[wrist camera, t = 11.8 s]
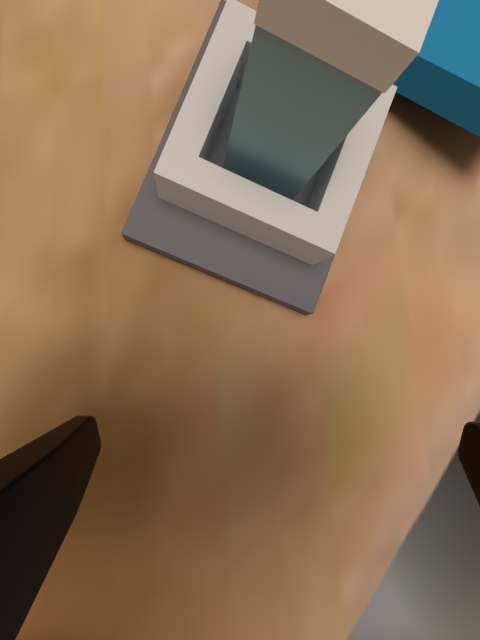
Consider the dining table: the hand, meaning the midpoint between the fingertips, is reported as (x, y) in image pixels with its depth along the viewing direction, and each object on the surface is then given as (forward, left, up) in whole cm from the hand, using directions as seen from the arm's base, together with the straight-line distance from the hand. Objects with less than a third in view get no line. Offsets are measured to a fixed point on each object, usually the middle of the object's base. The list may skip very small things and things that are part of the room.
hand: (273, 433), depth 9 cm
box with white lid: (+8, +9, -10) cm, 16 cm away
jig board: (+8, +9, -11) cm, 17 cm away
